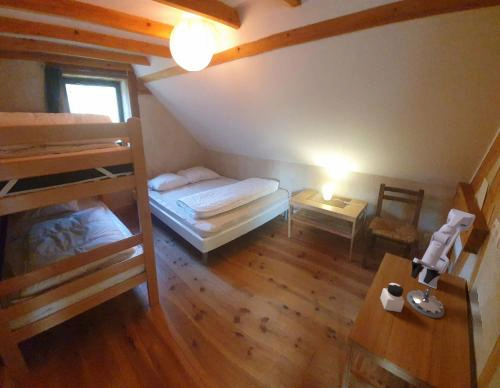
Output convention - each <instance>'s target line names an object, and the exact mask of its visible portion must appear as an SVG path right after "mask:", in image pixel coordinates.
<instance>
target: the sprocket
mask: <svg viewBox="0 0 500 388" xmlns="http://www.w3.org/2000/svg"><path fill="white" fill-rule="evenodd" d="M411 291H412V293H410V296H409V297H412V298H410V300H411V302H414V303H415V306H416V307H417V308H418V307H420V308H421V309H422V311H424V312H426V311H428V312H430V313H431V314H435V312H437V313H438V314H439V313H441V310H443V307H444V306H443V307H442V306H440V305H441V304H442V302H441V301H440V300H438V299H437V297H436V296H434V295H431V292H432V289H431V288H429V287H427V288H426V290H425V292H424V291H422V290H419V289H417V290H411ZM416 291H417V292H416ZM436 299H437V300H438V301H437V300H436ZM442 305H443V304H442Z"/></svg>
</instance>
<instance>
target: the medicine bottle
mask: <svg viewBox="0 0 500 388" xmlns="http://www.w3.org/2000/svg"><path fill="white" fill-rule="evenodd" d="M403 294H404V288H403V287H402V286H401V285H400V284H398V283H395V282H391V283H389V284H388V285H387V288H382V291H381V295H380V301H381V304H382V307H383V309H384V310H385V311H389V312H390V311H392V312H397V313H402V311H403V307H404V304H405V299H404V297H403Z"/></svg>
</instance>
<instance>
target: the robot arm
mask: <svg viewBox="0 0 500 388" xmlns="http://www.w3.org/2000/svg"><path fill="white" fill-rule="evenodd" d="M475 219H476V214H472V213H470V212H469V213H468V212H465V211H462V210H459V209H456V208H452V209H450V211H449V212H448V215H447V219H446V223H445V224H443V225H442V226H441V227H440V229H438V231H434V232H433V234H432V236H431V239H430V242H429V245H428V247H427V249H426V251H425V252H424V254H423V256H422V258H421V259H419V258H418V257H414V259H412V261H411V275H410V277H411V278H412V279H417V278H418V280H417V282H418V283H419V284H423V285H424V286H427V287H428V288H429V287H430V288H433V289H435V290H436V289H437V286H438V280H439V278H440V276H441V274H445V273H446V271H447V269H448V267H449V265H450V259H449V258H448V256H447V254H448V253H449V252H450V249H451V247H452V246H453V245H454V244H455V241H456V240H457V238H459V235H460V234H461V233H462V232H466V231H469V229H471V227H472V225H473V223H474V221H475Z"/></svg>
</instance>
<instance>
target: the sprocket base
mask: <svg viewBox="0 0 500 388" xmlns="http://www.w3.org/2000/svg"><path fill="white" fill-rule="evenodd" d="M412 291H413V290H411V291H409V292H408V293H407V294H406V298H405V299H406V302H407V303H408V305H409V306H410V307H411V308H412V310H414V311H416V312H417V313H419V314H421V315H422V316H425V317H427V318H431V319H439V318H442V317H443V316H444V314H445V307H444V306H443V305H444V304H441V305H440V306H442V307H443V310H441V313H439V314H438V313H437V312H435V314H431V313H430V312H428V311H426V312H424V311H422V309H421V308H420V307H418V308H417V307H416V306H415V303H414V302H411V300H410V298H412V297H409V296H410V293H412ZM415 291H416V292H417V290H415ZM436 300H437V301H439V300H438V299H437V298H436Z"/></svg>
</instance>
